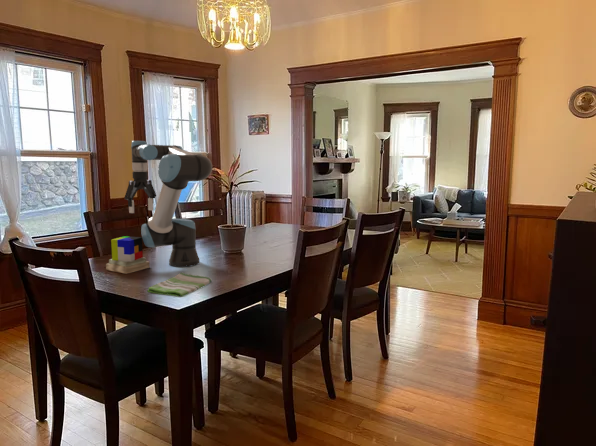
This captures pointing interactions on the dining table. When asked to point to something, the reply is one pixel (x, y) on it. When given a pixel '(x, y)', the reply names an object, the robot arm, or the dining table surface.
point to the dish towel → (180, 285)
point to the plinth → (128, 269)
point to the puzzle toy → (127, 248)
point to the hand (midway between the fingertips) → (141, 211)
